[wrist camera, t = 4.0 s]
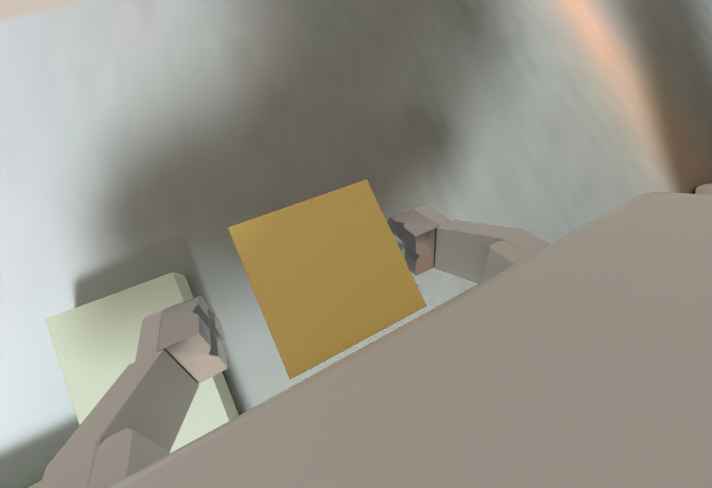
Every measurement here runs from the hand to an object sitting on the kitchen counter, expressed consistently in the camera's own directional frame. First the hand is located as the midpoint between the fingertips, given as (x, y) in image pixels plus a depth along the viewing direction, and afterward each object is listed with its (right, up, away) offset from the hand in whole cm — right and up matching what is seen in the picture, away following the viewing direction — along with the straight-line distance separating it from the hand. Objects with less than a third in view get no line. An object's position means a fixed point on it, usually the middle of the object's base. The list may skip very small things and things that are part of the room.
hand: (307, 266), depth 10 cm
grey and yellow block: (-1, -2, +5) cm, 5 cm away
